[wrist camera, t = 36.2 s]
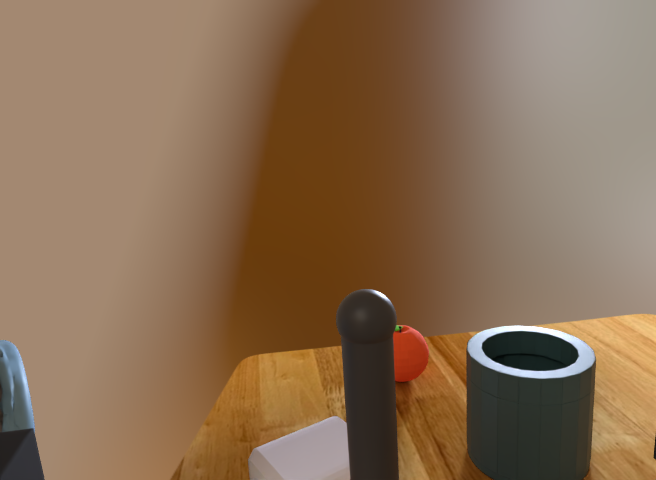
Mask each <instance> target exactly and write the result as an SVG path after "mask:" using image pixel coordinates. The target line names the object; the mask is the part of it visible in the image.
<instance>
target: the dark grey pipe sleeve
mask: <svg viewBox="0 0 656 480" xmlns="http://www.w3.org/2000/svg"><path fill="white" fill-rule="evenodd" d="M595 369H596V357H595V354H594V351H593V349H591V348H590V347H589V346H588V345H587V344H586V343H585V342H584V341H582V340H580V339H578V338H576V337H574V336H572V335H570V334H566V333H563V332H560V331H557V330H552V329H547V328H541V327H532V326H503V327H498V328H493V329H488V330H485V331H482V332H480V333H478V334H475V335H474V336H473V337H472V338H471V339H470V340H469V341H468V344H467V445H468V453H469V456H470V458H471V460H472V462H473V463H474V464H475V465H476V467H477V468H478V469H480V470H481V471H482V472H483V473H484V474H486V475H487V476H489V477H491V478H492V479H494V480H582V479H583V478H584V477H585V476H586V474H587V472H588V470H589V464H590V459H591V441H592V423H593V406H594V388H595Z"/></svg>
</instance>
